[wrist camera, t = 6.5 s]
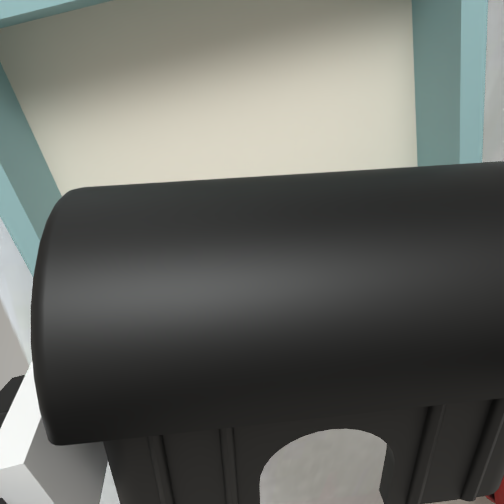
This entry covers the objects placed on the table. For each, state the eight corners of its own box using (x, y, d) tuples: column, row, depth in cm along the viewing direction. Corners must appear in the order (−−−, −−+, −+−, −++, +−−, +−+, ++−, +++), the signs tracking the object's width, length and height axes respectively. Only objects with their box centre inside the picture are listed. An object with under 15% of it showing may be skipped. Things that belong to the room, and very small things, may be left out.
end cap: (458, 125, 12) (697, 232, 6) (418, 327, 16) (550, 517, 10) (91, 145, 12) (-20, 288, 6) (133, 353, 15) (92, 578, 9)
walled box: (422, -105, 22) (493, -143, 17) (429, 214, 31) (478, 255, 26) (-41, 11, 22) (-113, 9, 17) (96, 298, 31) (76, 355, 26)
